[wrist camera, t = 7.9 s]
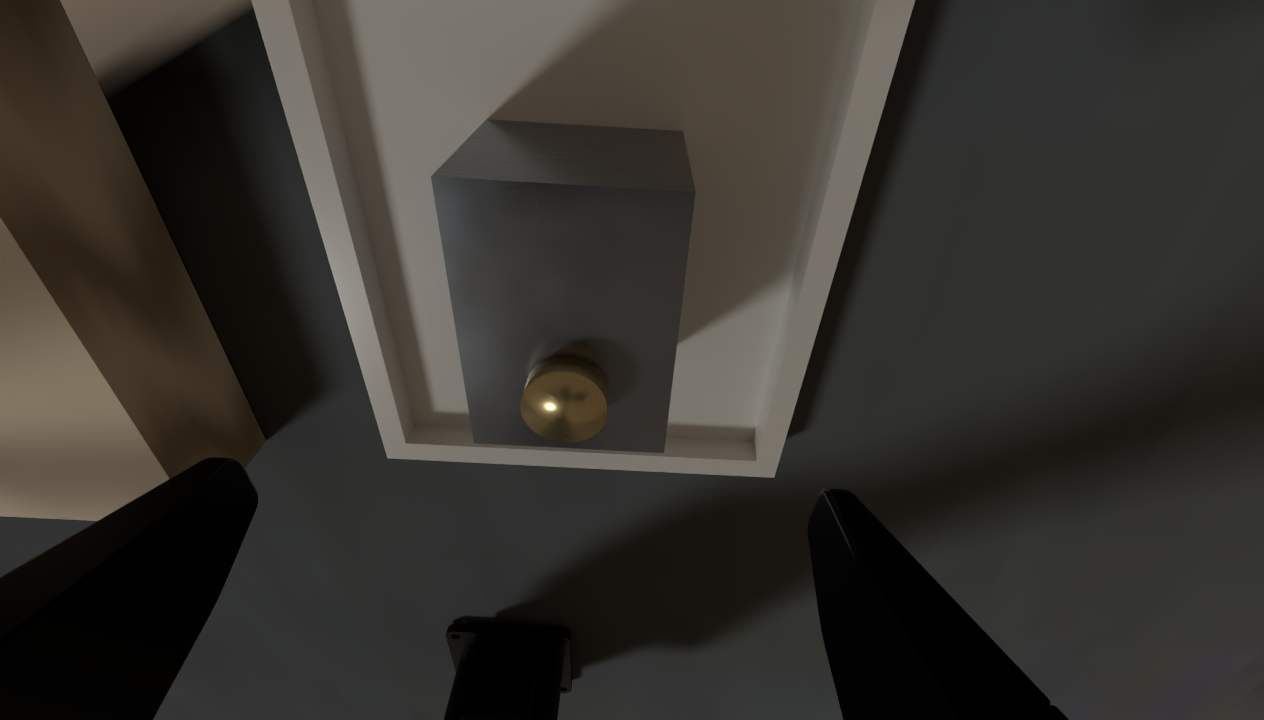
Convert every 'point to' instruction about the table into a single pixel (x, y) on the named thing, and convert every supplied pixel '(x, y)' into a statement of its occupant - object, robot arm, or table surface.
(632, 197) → the dark grey block
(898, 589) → the robot arm
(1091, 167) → the table surface
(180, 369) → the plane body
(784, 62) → the parts tray
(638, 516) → the table surface
